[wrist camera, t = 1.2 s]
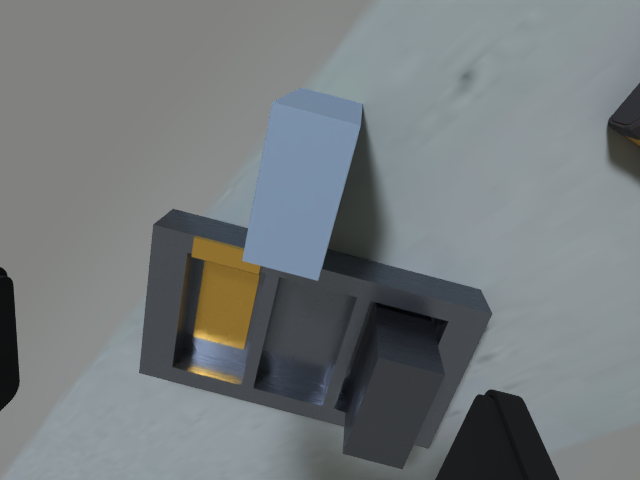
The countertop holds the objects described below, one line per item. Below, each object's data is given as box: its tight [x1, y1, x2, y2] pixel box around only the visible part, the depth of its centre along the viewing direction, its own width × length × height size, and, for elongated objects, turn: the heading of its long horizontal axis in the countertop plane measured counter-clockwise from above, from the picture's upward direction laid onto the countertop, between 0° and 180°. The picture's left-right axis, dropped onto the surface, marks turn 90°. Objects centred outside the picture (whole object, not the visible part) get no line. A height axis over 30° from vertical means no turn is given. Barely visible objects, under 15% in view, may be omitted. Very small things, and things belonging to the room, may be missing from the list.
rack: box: [139, 209, 492, 469], centre depth 27 cm, size 11×20×7 cm, turn 76°
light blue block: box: [242, 88, 363, 281], centre depth 22 cm, size 7×4×8 cm, turn 166°
